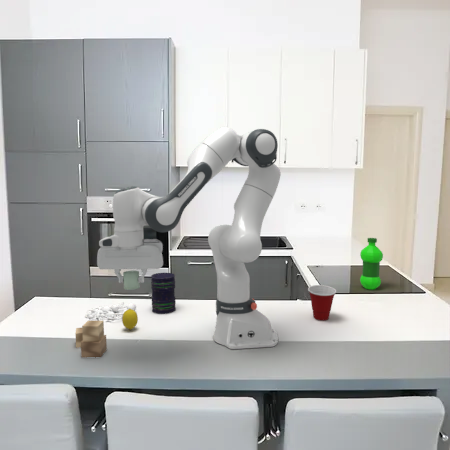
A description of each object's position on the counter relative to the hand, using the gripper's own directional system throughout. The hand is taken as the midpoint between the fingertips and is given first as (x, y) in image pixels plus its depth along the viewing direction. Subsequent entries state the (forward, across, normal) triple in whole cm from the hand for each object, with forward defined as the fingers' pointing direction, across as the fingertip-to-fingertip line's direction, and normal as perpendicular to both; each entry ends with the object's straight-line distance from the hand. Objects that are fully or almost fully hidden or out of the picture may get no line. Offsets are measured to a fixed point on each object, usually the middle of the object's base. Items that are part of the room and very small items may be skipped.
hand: (131, 282), depth 129 cm
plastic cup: (+24, -66, -32) cm, 77 cm away
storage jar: (+23, -2, -40) cm, 46 cm away
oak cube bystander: (+23, +19, -5) cm, 30 cm away
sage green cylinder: (+2, 0, 0) cm, 2 cm away
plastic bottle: (+25, -98, -76) cm, 127 cm away
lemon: (+23, +6, -18) cm, 30 cm away
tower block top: (+18, +12, +2) cm, 22 cm away
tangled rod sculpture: (+23, +18, -32) cm, 43 cm away
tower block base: (+23, +13, +2) cm, 26 cm away
